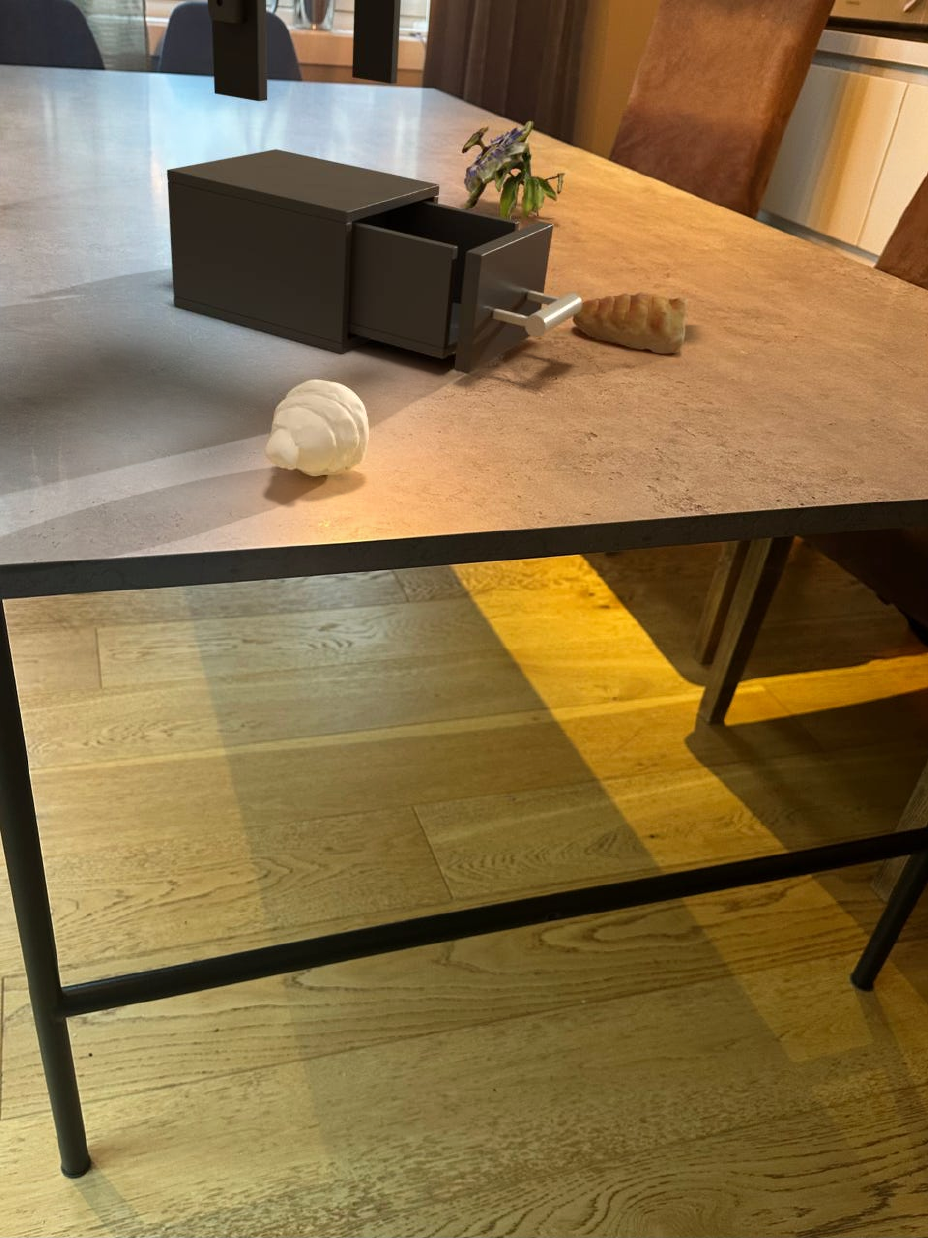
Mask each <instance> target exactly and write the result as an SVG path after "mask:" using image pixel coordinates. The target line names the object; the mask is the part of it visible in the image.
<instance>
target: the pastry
mask: <svg viewBox="0 0 928 1238" xmlns="http://www.w3.org/2000/svg"><path fill="white" fill-rule="evenodd" d="M687 308H688V299H686V298H682V297H680V296H679V297H676V298H669V297H665V296H661V295H659V294H655V293H648V292H638V293H635V294H630V293H622V294H619V295H612V296H611V295H606V296H604V297H603V298H593V299H588V300H585V301H583V302H582V308H581V310H580V311H579V312H578V313H577V314H576V315H574V316H572V323H573V324H574V325H575V327H577V329H579V331H581V332H582V333H584V334H586V336H587V337H588V338H590V337H591V338H594V340H596V341H604V342H605V341H606V342H608V343H610V344H612V345H614V344H617V345H621V346H625V347H626V348H631V349H636V350H641V351H642V350H644V349H646V350H650V351H651V352H652V353H656V354H665V355H666V354H676V353H677V354H678V353H679V351H680V350H681V349H682V346H683V344H684V341H685V334H686V312H687Z"/></svg>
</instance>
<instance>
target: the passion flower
mask: <svg viewBox="0 0 928 1238" xmlns="http://www.w3.org/2000/svg"><path fill="white" fill-rule="evenodd" d="M533 127H534V121H533V120H532V121H531V120H529V121H527V122H526V123H525V124H524V127H523V128H522V129H521V130H519V128H518V126H516V127H513V129H511V130H510V132H509V131H506V133H505V134H501V135H500V136H496V139H494V140H493V139H490V144H488V145H487V146H486V145H485V144H484V141H483V140H482V139H483V138H484V135H486V133H487V132H488V131H489V129H490V127H489V125H485V127H482V128H480V129H479V130H477V131H476V132H473V133H472V135H471V137H470V138H469V139H468V140H467V141H466V143H464V145H463V148H462V149H461V153H462V154H465V153H468V152H469V151H470V150H471V148H473V147H475V146H479V147H480V149H481V150H482V151H481V152H480V153H479V154H477V157H476V159H475V161H474V162H473V163H471V165H470V166H468V167H467V168H466V169H465V178H464V179H463V180H464V181H463V184H464V187H465V190H466V191H467V192H468V193H469V194H468V196H467V197H466V199H465V200H466V201H465V203H464V207H465V208H466V209H468V210H470V209H473V208H475V207H476V205H477V204H478V202H479V199H480V198H481V196H482V195H483V193H484V192H485V190H486V188H487V186H488V184H490V183H492V182H493V181H494V186H495V189H496V191H497V192H498V193H500V196H499V197H500V198H499V217H501V218H505V219H510V220H512V215H513V214H514V212H515V210H516V207H517V205H518V201H519V200H518V199H519V192H520V186H523V190H522V196H521V213H520V214H521V220H525V219H526V218H528V217H529V216H530V215H531V214H532V213H534V214H536V215H537V216H536V217H540V215H539V211H540V210H541V209H542V207H543V205H544V204H545V199H546V197H547V198H549V199H551V200H552V201H555V202H557V201H558V197H557V195H560V194H561V192H562V189H563V184H564V177H565V175H566V173H565V172H563V173H562V172H560V173H557V174H556V175H553V176H550V177H547V178H543V177H542V176H541V177H540V176H535V175H534V176H533V175H532V165H531V162H532V161H531V160H532V154H531V151H530V141H529V139H530V137H529V136H530V134H531V132H532V131H533V129H534V128H533ZM513 170H519V172H517V174H516V175H515V174H513V173H512V171H513ZM508 175H509V176H508ZM507 176H508V177H507ZM555 179H557V182H558V183H557V186H556V187H557V189H556V191H555V190H554V189H553V187H552V185H551V184H550V182H549V180H555Z"/></svg>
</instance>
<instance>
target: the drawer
mask: <svg viewBox="0 0 928 1238" xmlns="http://www.w3.org/2000/svg"><path fill="white" fill-rule="evenodd" d="M519 228H520V221H519V220H514V219H511V220H510V219H505V218H501V217H500V216H496V215H491V214H487V213H482V212H478V211H473V210H470V209H465V208H460V207H455V206H450V205H447V204H441V203H439V202H438V203H434V202H429V201H425V200H421V201H417V202H414V203H411V204H408V205H404V206H401V207H398V208H395V209H392V210H388V211H385V212H382V213H379V214H375V215H372V216H369V217H366V218H362V219H359V220H356V221H353V222H352V237H351V262H350V287H349V312H348V333H352V334H355V335H359V336H362V337H366V338H370V339H371V340H373V341H378V342H380V343H385V344H386V345H387V344H388V345H391V346H395V347H398V348H403V349H406V350H410V351H413V352H416V353H420V354H424V355H427V356H431V357H435V358H438V359H441V360H443V359H445V358H447V357H448V356H450V355H452V354H454V353H455V358H454V371H456V372H459V373H463V374H467V375H470V374H472V373H473V372H474V371H476V370H478V369H479V368H481V367H483V366H484V365H486V364H487V363H490V362H491V361H492V360H494V359H496V358H498V357H499V356H500V355H502V354H504V353H506V352H507V351H509V350H511V349H512V348H514V347H516V346H517V345H519V344H520V343H522V342H523V341H525V340H527V339H528V338H530V337H532V338H540V337H542V336H543V335H545V334H547V333H548V332H550V331H552V330H553V329H555V328H557V327H558V326H560V325H562V324H563V323H564V322H566V321H567V320H569V319H571V318H573V316H574V315H576V314H577V313H578V312H579V311H580V310H581V308H582V303H583V302H582V299H581V297H580V296H579V294H577V293H574V292H569V293H566V294H565V295H563V296H561V297H560V296H556V295H551V294H546V293H545V288H546V287H545V286H546V280H547V279H546V278H547V274H548V273H547V272H548V265H549V259H550V251H551V244H552V236H553V231H554V224H553V223H551V222H550V223H549V222H546V221H541V220H540V221H537V222H535V223H532V224H529V225H527V226H524V227H522V228H520V229H519ZM543 305H545V306H544V307H543Z"/></svg>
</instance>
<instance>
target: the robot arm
mask: <svg viewBox="0 0 928 1238" xmlns="http://www.w3.org/2000/svg"><path fill="white" fill-rule="evenodd" d="M353 1H354V2H353V31H352V66H351V67H352V69H351V70H352V71H351V73H352V74H351V77H352V78H353V79H359V80H366V81H372V82H377V83H378V82H379V83H385V84H389V85H390V84H397V83H398V68H399V67H398V65H399V47H400V46H399V45H400V24H401V9H402V7H401V5H402V0H353ZM207 10H208V14H209V17H210V20H211V32H212V33H211V34H212V35H211V36H212V57H213V60H212V62H213V87H214V88H213V89H214V90H213V91H214V94H215V95H221V96H226V97H231V98H237V99H243V100H248V101H254V102H263V101H264V102H265V101H268V49H267V47H268V46H267V45H268V44H267V43H268V42H267V40H268V39H267V38H268V37H267V36H268V35H267V33H268V32H267V0H207Z"/></svg>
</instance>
